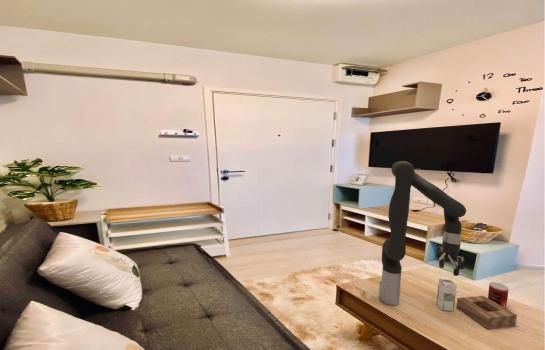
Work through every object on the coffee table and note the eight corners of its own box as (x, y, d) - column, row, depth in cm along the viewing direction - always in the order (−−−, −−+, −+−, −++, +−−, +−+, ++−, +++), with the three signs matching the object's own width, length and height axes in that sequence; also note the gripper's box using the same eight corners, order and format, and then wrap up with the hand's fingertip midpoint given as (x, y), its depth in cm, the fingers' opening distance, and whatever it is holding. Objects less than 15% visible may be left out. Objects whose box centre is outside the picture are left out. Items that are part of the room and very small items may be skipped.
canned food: (502, 303, 138) (505, 284, 137) (508, 311, 131) (511, 291, 130) (485, 299, 142) (487, 280, 140) (490, 307, 134) (492, 287, 133)
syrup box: (447, 305, 136) (450, 278, 134) (454, 312, 130) (456, 284, 128) (436, 304, 136) (438, 278, 135) (442, 311, 130) (444, 283, 129)
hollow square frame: (487, 329, 117) (488, 318, 117) (456, 308, 133) (457, 298, 132) (515, 326, 120) (516, 315, 120) (482, 305, 136) (483, 295, 135)
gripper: (433, 236, 136) (431, 265, 137) (457, 246, 122) (454, 278, 123) (445, 235, 137) (443, 264, 139) (470, 245, 123) (467, 277, 125)
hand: (448, 271), depth 131 cm, fingers open, 8 cm apart
